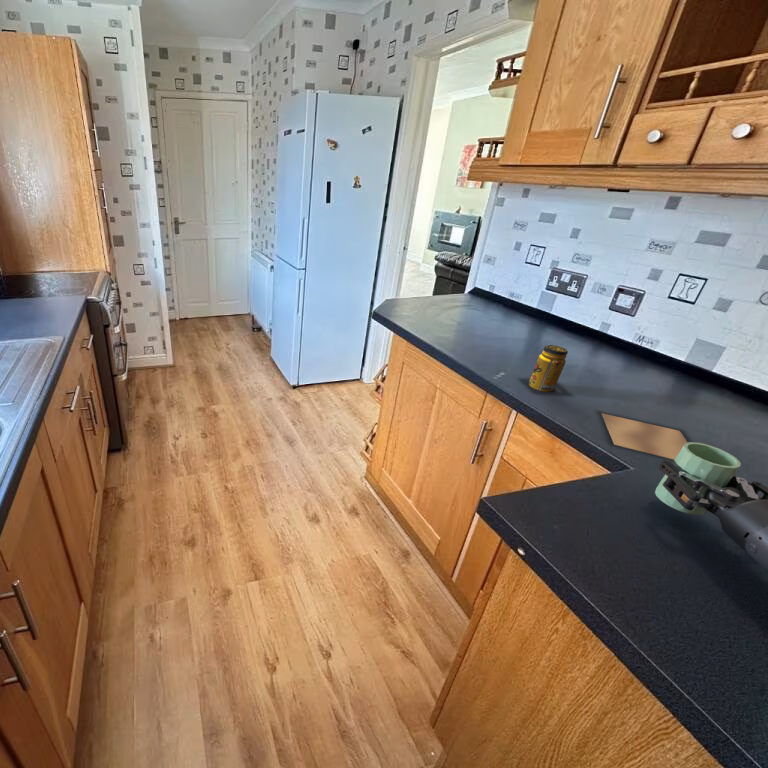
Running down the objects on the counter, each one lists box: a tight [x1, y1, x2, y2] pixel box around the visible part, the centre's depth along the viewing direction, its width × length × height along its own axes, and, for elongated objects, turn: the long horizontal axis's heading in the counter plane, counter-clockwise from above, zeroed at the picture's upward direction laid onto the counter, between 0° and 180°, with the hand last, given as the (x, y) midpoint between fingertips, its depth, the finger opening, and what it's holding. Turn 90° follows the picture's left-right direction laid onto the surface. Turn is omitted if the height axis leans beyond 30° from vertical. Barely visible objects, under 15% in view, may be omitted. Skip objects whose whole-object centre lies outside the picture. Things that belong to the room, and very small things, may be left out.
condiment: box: [528, 344, 568, 393], centre depth 111 cm, size 7×8×12 cm
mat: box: [601, 412, 689, 460], centre depth 93 cm, size 15×15×1 cm
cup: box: [654, 441, 742, 516], centre depth 69 cm, size 7×7×10 cm
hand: (687, 465), depth 70 cm, fingers closed on cup, 6 cm apart
